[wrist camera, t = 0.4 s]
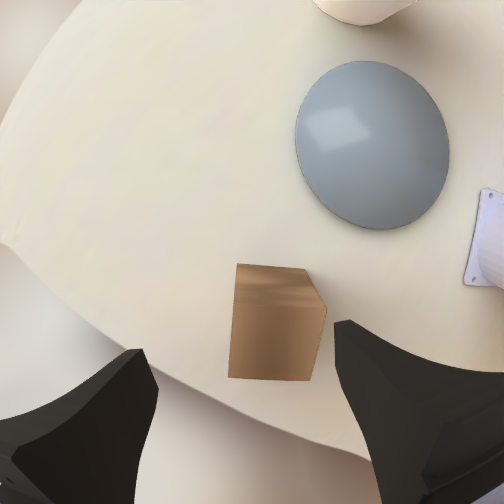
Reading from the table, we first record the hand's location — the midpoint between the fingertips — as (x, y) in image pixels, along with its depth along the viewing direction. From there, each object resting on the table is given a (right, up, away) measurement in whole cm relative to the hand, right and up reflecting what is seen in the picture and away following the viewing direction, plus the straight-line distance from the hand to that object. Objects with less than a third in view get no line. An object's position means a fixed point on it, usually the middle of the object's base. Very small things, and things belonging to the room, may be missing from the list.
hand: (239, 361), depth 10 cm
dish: (+9, +11, +7) cm, 15 cm away
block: (+1, +1, +10) cm, 10 cm away
